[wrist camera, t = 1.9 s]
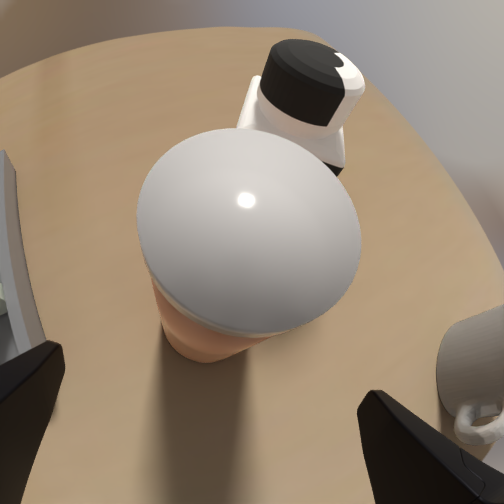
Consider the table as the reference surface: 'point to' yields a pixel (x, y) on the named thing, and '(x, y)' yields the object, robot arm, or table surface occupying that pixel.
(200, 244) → the dome-lidded peach canister
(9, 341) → the tray
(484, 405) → the coffee mug
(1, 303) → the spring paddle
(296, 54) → the medicine bottle
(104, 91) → the table surface
